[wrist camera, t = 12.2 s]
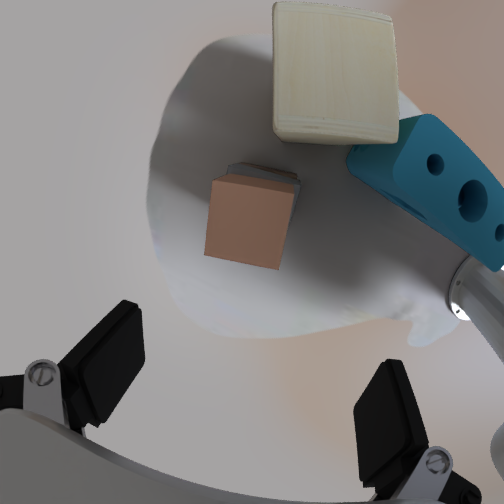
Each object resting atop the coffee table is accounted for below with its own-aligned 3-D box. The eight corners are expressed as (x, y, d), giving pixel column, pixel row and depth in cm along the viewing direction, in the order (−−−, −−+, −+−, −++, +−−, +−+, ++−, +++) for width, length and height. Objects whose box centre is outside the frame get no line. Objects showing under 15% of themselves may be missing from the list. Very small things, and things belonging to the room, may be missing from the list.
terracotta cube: (293, 184, 25) (294, 194, 19) (281, 244, 27) (278, 270, 22) (229, 173, 25) (212, 180, 20) (221, 233, 28) (204, 255, 22)
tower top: (299, 180, 29) (301, 185, 25) (281, 239, 32) (280, 253, 28) (237, 163, 29) (228, 165, 25) (223, 222, 32) (212, 233, 28)
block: (333, 162, 32) (386, 177, 13) (352, 129, 30) (424, 106, 11) (406, 212, 32) (496, 276, 14) (424, 182, 31) (527, 221, 12)
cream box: (341, 148, 31) (411, 146, 12) (281, 143, 32) (267, 131, 12) (342, 87, 28) (403, 15, 9) (282, 82, 29) (268, -3, 10)
